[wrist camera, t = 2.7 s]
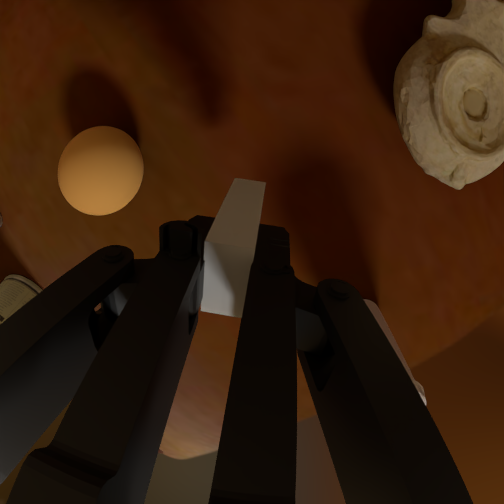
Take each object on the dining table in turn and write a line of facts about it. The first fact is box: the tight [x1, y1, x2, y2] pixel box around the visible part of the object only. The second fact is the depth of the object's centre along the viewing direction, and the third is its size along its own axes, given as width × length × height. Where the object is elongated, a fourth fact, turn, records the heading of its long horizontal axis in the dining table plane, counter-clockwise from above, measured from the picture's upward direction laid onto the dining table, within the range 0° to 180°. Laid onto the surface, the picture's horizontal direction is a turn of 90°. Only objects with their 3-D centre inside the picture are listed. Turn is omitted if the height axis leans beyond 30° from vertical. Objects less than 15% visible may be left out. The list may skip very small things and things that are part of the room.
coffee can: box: [0, 274, 43, 324], centre depth 23 cm, size 10×10×14 cm
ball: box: [58, 126, 144, 215], centre depth 17 cm, size 6×6×6 cm
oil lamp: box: [393, 0, 504, 190], centre depth 12 cm, size 11×14×5 cm
